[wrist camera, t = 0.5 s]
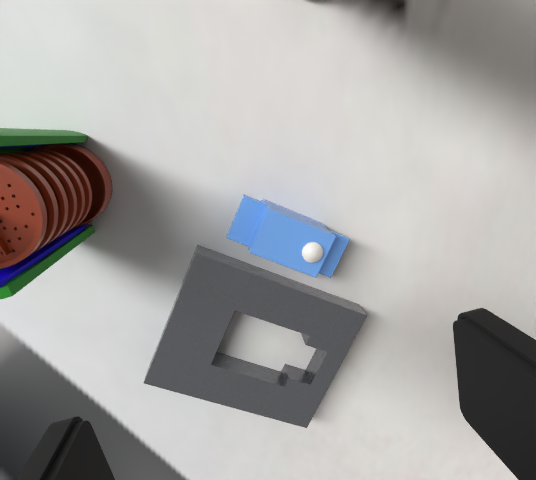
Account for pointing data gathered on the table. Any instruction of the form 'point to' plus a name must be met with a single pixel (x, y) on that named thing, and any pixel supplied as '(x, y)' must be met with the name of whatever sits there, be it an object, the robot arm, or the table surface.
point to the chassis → (263, 307)
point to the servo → (287, 237)
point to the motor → (45, 200)
